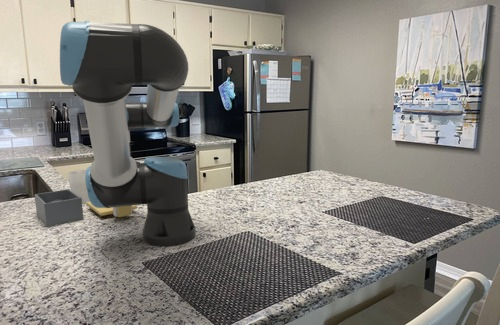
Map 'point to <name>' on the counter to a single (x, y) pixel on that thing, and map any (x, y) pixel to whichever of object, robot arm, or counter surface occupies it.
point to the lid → (105, 211)
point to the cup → (79, 184)
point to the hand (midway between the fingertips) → (122, 214)
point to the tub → (59, 207)
